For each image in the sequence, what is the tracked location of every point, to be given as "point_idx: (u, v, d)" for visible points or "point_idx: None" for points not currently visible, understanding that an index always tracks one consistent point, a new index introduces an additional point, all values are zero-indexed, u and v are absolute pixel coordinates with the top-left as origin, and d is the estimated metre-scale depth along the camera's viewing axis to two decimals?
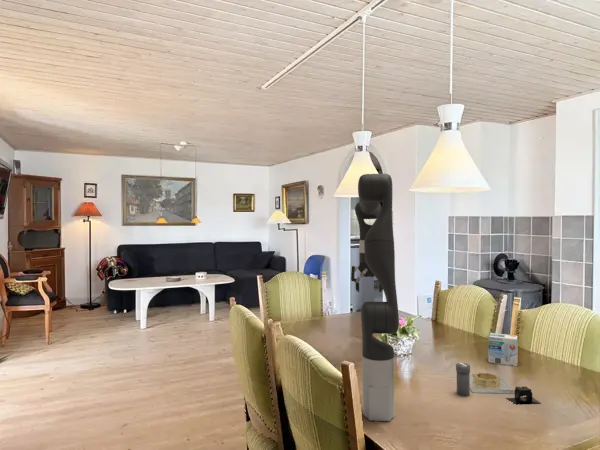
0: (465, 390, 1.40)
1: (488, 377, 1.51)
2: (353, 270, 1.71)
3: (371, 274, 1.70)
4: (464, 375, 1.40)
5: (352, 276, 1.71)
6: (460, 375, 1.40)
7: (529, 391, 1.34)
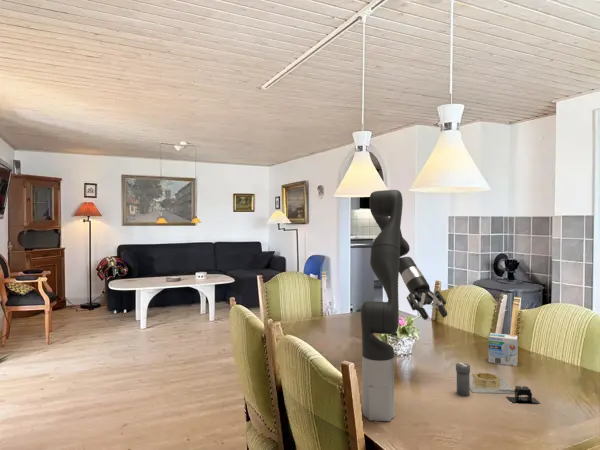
0: (465, 390, 1.40)
1: (488, 377, 1.51)
2: (412, 296, 1.55)
3: (430, 298, 1.57)
4: (464, 375, 1.40)
5: (414, 302, 1.53)
6: (460, 375, 1.40)
7: (528, 391, 1.34)
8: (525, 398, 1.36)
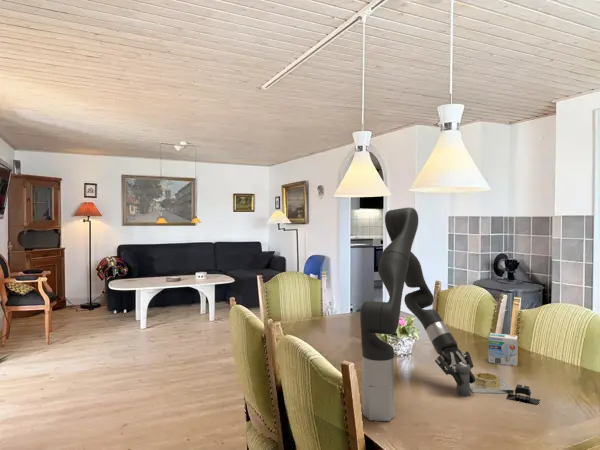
0: (465, 390, 1.40)
1: (488, 377, 1.51)
2: (442, 360, 1.42)
3: (456, 358, 1.44)
4: (464, 375, 1.40)
5: (447, 366, 1.41)
6: (460, 375, 1.40)
7: (526, 390, 1.35)
8: (525, 397, 1.36)
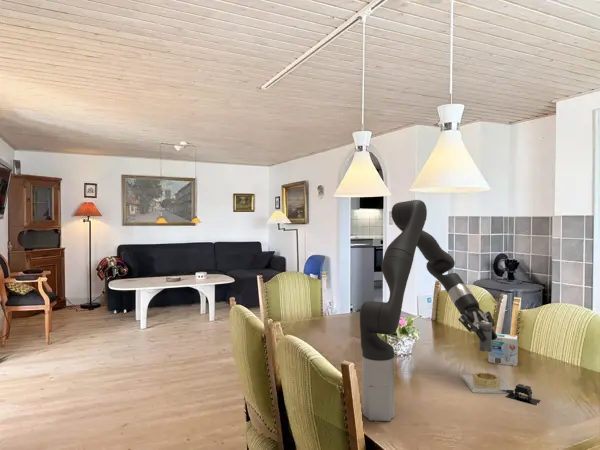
0: (487, 346, 1.47)
1: (488, 377, 1.51)
2: (466, 318, 1.49)
3: (479, 317, 1.52)
4: (486, 331, 1.47)
5: (470, 324, 1.48)
6: (483, 332, 1.47)
7: (525, 390, 1.35)
8: (525, 397, 1.37)
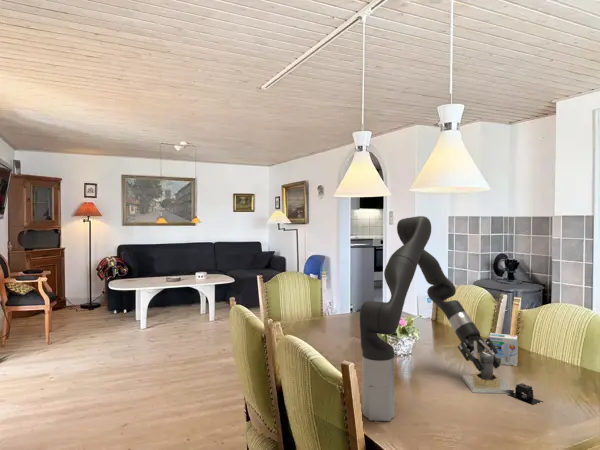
0: (488, 378, 1.47)
1: None
2: (464, 346, 1.49)
3: (481, 347, 1.51)
4: (488, 364, 1.47)
5: (468, 352, 1.48)
6: (484, 364, 1.47)
7: (524, 389, 1.36)
8: (526, 396, 1.37)
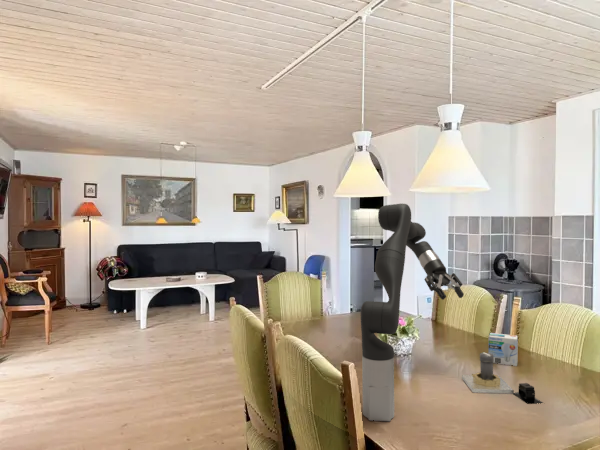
0: (488, 378, 1.47)
1: None
2: (430, 278, 1.62)
3: (446, 280, 1.64)
4: (488, 364, 1.47)
5: (432, 283, 1.61)
6: (485, 364, 1.47)
7: (524, 388, 1.37)
8: None
